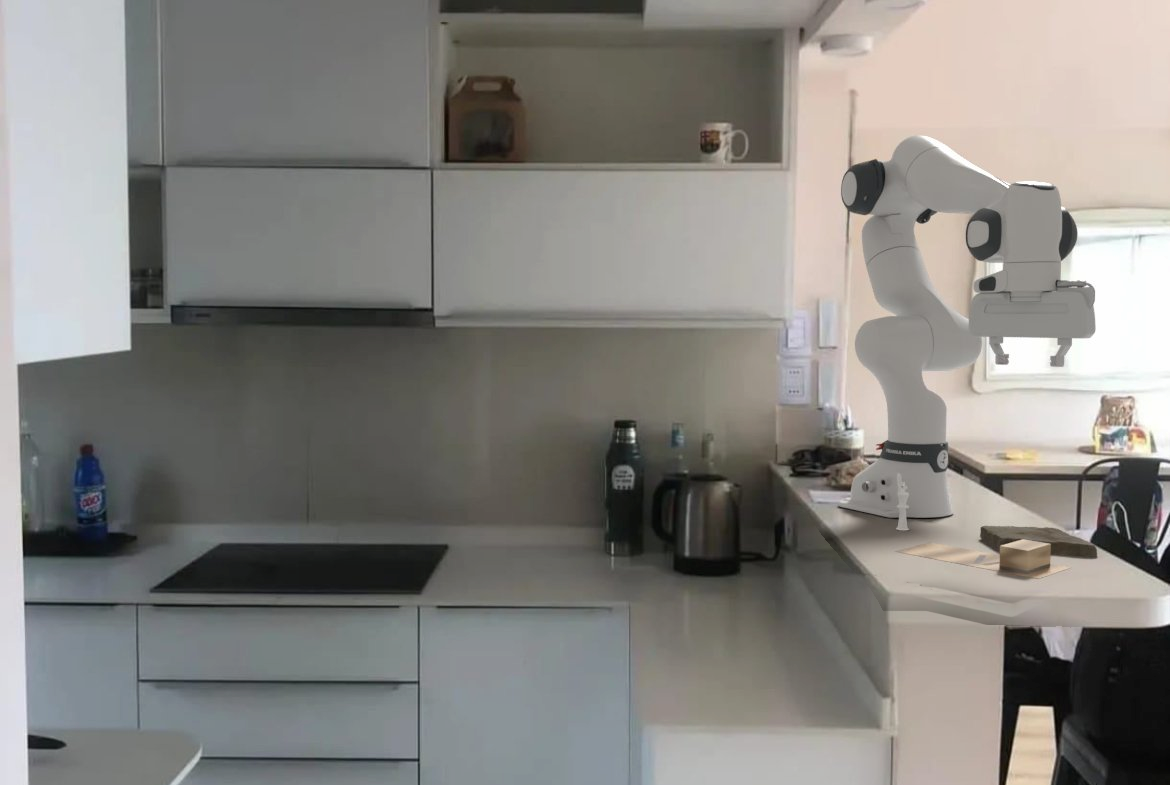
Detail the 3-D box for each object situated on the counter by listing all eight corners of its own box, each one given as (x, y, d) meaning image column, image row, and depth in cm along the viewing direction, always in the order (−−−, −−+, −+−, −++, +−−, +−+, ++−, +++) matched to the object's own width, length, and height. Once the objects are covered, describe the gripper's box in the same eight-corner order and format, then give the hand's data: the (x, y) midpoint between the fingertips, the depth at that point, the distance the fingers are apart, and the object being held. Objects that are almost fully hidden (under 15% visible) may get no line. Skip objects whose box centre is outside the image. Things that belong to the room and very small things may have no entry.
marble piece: (1100, 569, 172) (1100, 543, 172) (1004, 569, 173) (1005, 543, 172) (1059, 546, 189) (1060, 522, 188) (973, 545, 189) (973, 522, 189)
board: (894, 560, 177) (894, 551, 177) (928, 551, 184) (929, 542, 183) (1038, 588, 159) (1038, 578, 159) (1070, 577, 165) (1070, 567, 165)
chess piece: (905, 534, 197) (906, 479, 197) (922, 539, 193) (923, 483, 192) (882, 536, 196) (883, 481, 195) (899, 541, 191) (900, 485, 190)
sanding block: (999, 568, 165) (999, 545, 165) (1022, 561, 169) (1023, 539, 169) (1027, 574, 162) (1028, 550, 161) (1050, 566, 166) (1050, 543, 166)
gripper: (1104, 279, 173) (1101, 367, 174) (984, 282, 189) (982, 362, 190) (1086, 279, 169) (1083, 368, 170) (964, 282, 184) (962, 364, 185)
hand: (1029, 365), depth 180 cm, fingers open, 8 cm apart
